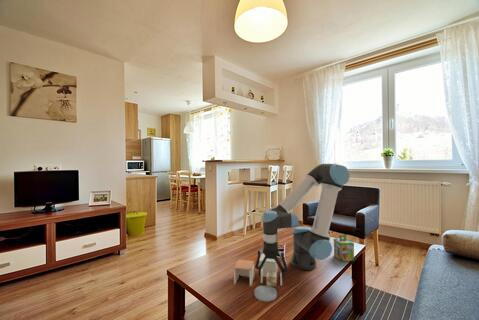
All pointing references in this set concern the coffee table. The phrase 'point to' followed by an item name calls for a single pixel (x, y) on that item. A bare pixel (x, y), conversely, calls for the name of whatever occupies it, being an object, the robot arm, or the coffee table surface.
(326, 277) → the coffee table surface
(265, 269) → the pale green cube
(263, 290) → the dish
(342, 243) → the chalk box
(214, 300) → the coffee table surface
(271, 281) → the block
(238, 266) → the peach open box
